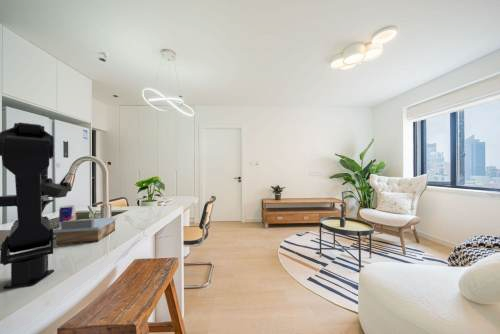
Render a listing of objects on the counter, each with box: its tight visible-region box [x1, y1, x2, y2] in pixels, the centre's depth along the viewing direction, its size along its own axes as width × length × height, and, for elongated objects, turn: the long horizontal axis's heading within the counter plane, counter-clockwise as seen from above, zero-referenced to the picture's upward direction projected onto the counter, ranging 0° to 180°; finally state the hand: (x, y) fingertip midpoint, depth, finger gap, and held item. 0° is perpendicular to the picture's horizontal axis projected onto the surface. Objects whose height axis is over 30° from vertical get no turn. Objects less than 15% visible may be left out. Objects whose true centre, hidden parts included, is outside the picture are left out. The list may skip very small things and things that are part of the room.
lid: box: [53, 217, 118, 234], centre depth 79 cm, size 15×15×4 cm
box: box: [55, 220, 116, 246], centre depth 79 cm, size 14×14×5 cm
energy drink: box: [58, 204, 76, 228], centre depth 86 cm, size 5×5×12 cm
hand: (34, 223), depth 60 cm, fingers closed
